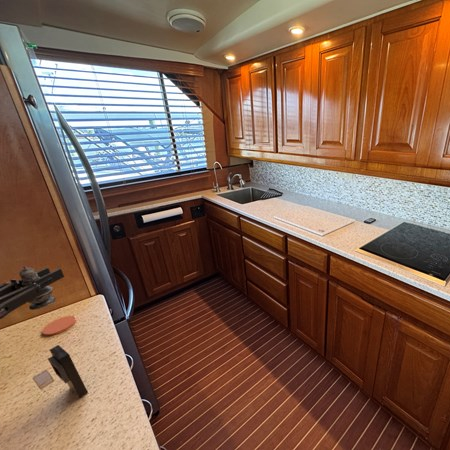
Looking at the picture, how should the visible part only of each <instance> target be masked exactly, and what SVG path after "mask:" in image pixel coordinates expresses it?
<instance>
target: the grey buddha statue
mask: <svg viewBox="0 0 450 450" xmlns="http://www.w3.org/2000/svg"><path fill="white" fill-rule="evenodd" d="M36 272H37V271H36V269H35V268H33V267H27V265H24V266H23V268H22V269H21V270H20V271H19V272H18V275H19V277H20V280H21V279H22V281H23V283H22V285H25V286H28V285H30V284H32V281H34V280H37V279H39V278H41V277H38V275H37V273H36ZM53 289H54V288H53V286H50V285H48V286H46V287H44V288H42V291H43V294H41V295H39V296H38V297H36V298H34V299H32V300H31V301H29V302H27V303H28V304H29V306H28V309H29V310H33V311H36V310H40V309H43V308H46V307H48V306H50V305H52V304H54V303H55V302H56V300H57V298H56V296H52V295H53Z"/></svg>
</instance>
